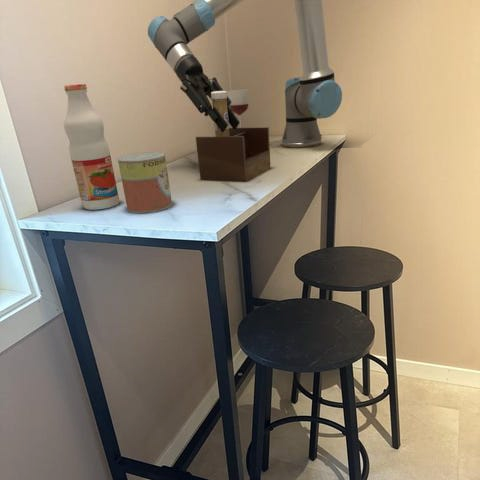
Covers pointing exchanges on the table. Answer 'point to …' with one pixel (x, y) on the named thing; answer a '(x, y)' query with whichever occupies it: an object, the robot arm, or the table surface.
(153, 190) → the canned food
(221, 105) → the sprinkles bottle
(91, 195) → the fruit juice
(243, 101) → the wineglass
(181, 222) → the table surface
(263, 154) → the box
